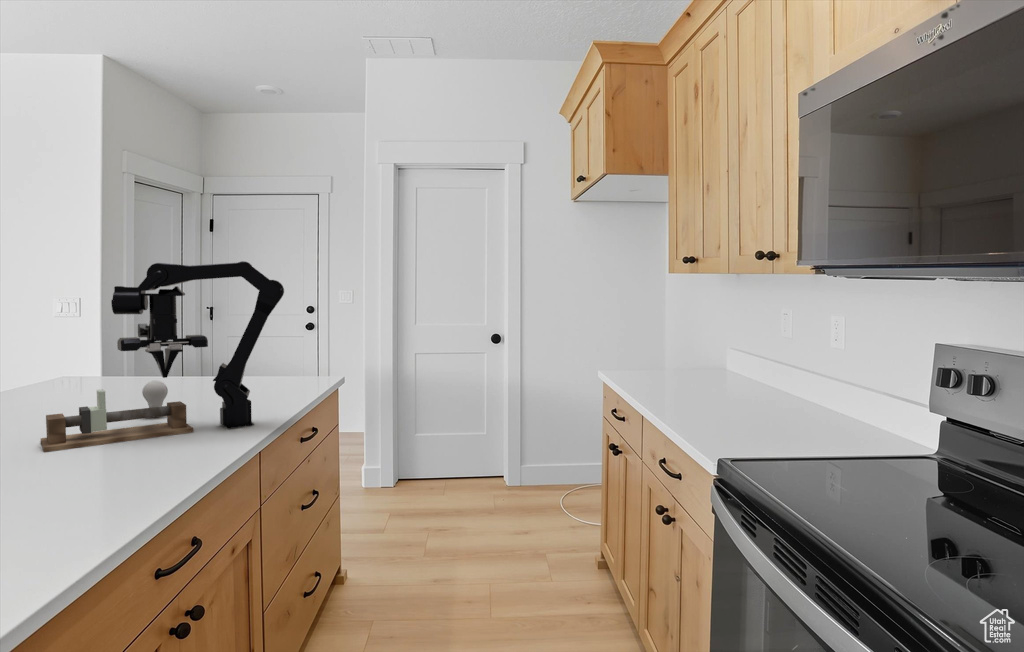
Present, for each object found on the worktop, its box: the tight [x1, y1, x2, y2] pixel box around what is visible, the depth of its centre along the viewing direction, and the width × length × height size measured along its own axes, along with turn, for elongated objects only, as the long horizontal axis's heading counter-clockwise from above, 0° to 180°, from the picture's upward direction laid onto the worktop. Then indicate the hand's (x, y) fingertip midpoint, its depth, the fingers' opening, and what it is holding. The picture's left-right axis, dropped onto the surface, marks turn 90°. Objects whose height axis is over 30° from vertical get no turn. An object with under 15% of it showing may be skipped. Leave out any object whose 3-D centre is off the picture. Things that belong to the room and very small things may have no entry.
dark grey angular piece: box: [78, 406, 91, 434], centre depth 138 cm, size 2×5×5 cm, turn 41°
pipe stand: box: [40, 400, 194, 453], centre depth 143 cm, size 29×10×6 cm, turn 131°
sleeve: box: [87, 388, 108, 432], centre depth 139 cm, size 3×5×9 cm, turn 41°
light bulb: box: [141, 379, 168, 408], centre depth 164 cm, size 6×6×10 cm
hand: (164, 377), depth 150 cm, fingers closed
